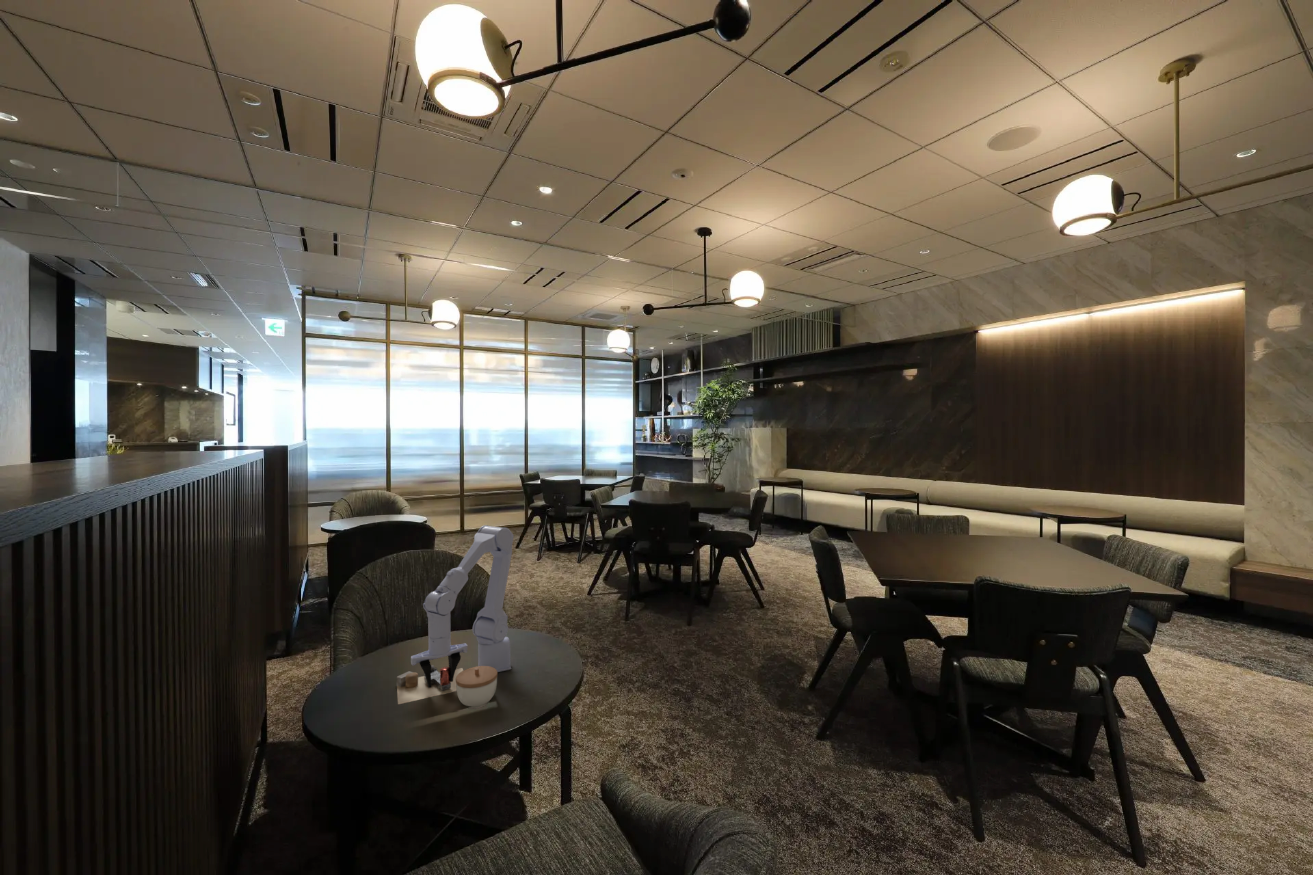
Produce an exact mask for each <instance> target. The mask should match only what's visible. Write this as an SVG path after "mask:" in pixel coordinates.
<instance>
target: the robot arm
mask: <svg viewBox="0 0 1313 875" xmlns="http://www.w3.org/2000/svg"><path fill="white" fill-rule="evenodd" d="M514 537H515V535H514V533H513V532H512V531H511V529H510V528H508V527H499V526H492V525H491V526H490V525H488V524H487V525H486V524H484V525H482V526H480V528H479V529H478V531H477V532H476V533H475V534H474V538H473V542H472V544H471V546H470V548H469V549H468V550H467V552H466V553H465V555H464V556H463V558H462V560H461V562H460V563H459V564H458V566H457V567H454V568H451V569H450V570H448V571H447V572H446V576H445V577H444V578H443V580H442V581H441V582H440V583H439V585H438V586H437V587H436V589H435V590H434V591H431V592H430V593H428V594H427V595H426V596H425V599H424V603H423V604H422V607H423V609H424V610H425V612H426V617H427V624H428V625H427V626H428V628H427V630H428V631H427V632H428V640H427V641H428V650H425V651H423V652H419V653H418V654H414V655H411V656H410V664H411V665H412V666H416V665H417V664H419V666H420V668H421V670H423V675H424V674H425V677H426V680H427V686H428V688H431V665H432V664H431V661H433V660H436V659H441V658H445V657H447V658H448V659H447V660H448V667H450V682H453V678H454V673H455V670H456V669H458V665H459V663H460V661H461V657H462V655H461V653H468V644H467V643H465V642H464V643H461V644H460V643H459V644H453V645H452V642H451V640H452V639H451V612H452V611H453V609H454V608H455V606H456V600H457V597H458V595H459V593H460V592H461V590H462V589H463V587H465V585H466V584H467V582H468V580H469V576H468V574H469V573H470V571H472V569H473V568H474V567H475V565H476V564H477V563H478V562H479V560H480V559H481V558H482V557H483V556H484V554H487V553H490V554H491V555H492V557H493V559H492V564H491V570H490V575H489V580H488V585H487V590H486V597H485V600H484V607H483V608H481V609H480V610H479V611H478V612H477V614H476V618H475V620H474V622H473V625H472V634H473V635H474V636H475V637H476V641H478V642H477V659H478V660H477V663H478V665H477V666H490V667H493V668H495V669H496V670H497V673H499V672H500V673H501V672H504V671H509V670H511V669H512V667H511V642H510V638H509V637H508V636H507V634H508V631H509V627H508V625H509V624H508V614H507V613H506V612H505V610H504V609H503V607H504V601H505V595H506V589H507V584H508V578H509V572H510V568H511V561H512V554H513V542H514Z"/></svg>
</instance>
